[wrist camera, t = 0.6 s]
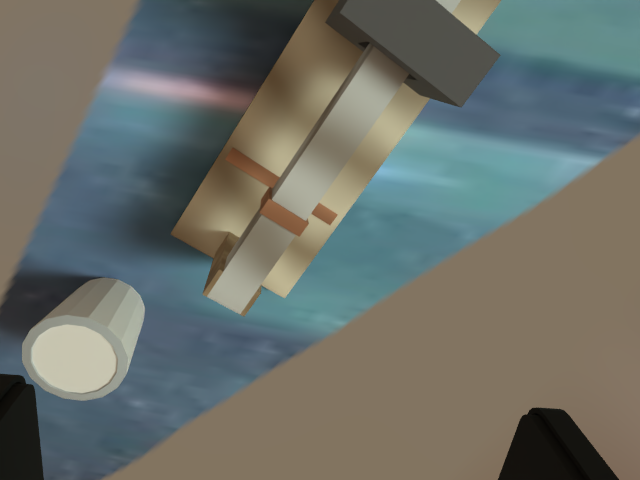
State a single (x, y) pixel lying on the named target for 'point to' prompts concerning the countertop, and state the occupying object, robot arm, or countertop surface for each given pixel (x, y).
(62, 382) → the cream short cylinder
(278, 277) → the pipe rig
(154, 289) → the countertop surface
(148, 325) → the countertop surface
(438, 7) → the collar
